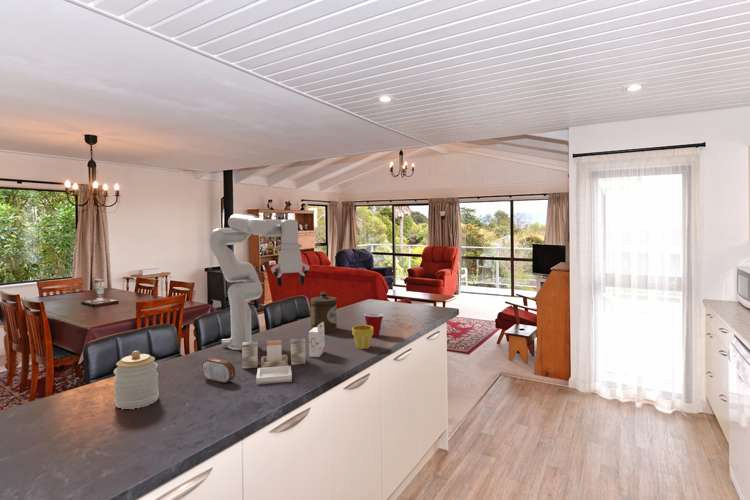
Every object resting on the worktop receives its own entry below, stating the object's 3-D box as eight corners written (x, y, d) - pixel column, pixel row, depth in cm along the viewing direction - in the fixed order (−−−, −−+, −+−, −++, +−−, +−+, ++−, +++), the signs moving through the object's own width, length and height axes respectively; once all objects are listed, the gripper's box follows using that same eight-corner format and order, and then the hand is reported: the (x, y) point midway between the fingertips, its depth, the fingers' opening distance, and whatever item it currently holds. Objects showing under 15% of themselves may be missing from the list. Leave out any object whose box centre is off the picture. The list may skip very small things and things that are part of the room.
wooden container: (335, 333, 229) (334, 293, 228) (308, 333, 229) (308, 293, 228) (337, 326, 244) (337, 289, 243) (312, 326, 244) (312, 289, 243)
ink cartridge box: (314, 351, 197) (314, 320, 196) (324, 351, 196) (324, 321, 195) (308, 356, 188) (308, 324, 187) (318, 357, 187) (318, 325, 186)
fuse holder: (242, 370, 171) (241, 346, 170) (243, 363, 179) (243, 340, 179) (305, 365, 177) (305, 342, 176) (304, 358, 185) (304, 336, 185)
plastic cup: (387, 334, 226) (387, 313, 225) (377, 339, 216) (377, 316, 216) (370, 332, 231) (370, 310, 231) (359, 336, 222) (359, 314, 222)
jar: (127, 414, 131) (125, 359, 130) (107, 404, 138) (105, 352, 137) (167, 399, 142) (165, 348, 141) (146, 391, 149) (144, 343, 148)
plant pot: (364, 351, 196) (364, 331, 195) (347, 347, 202) (347, 327, 202) (377, 346, 204) (377, 326, 204) (361, 342, 210) (361, 323, 210)
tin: (236, 382, 158) (235, 360, 157) (230, 385, 155) (229, 363, 154) (207, 376, 164) (206, 355, 164) (200, 379, 161) (200, 358, 161)
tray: (256, 384, 156) (256, 378, 155) (257, 374, 166) (257, 368, 166) (291, 381, 159) (291, 375, 158) (290, 371, 169) (290, 365, 169)
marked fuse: (267, 366, 175) (266, 343, 175) (267, 363, 179) (267, 340, 179) (281, 365, 177) (281, 342, 176) (281, 362, 181) (281, 339, 180)
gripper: (306, 246, 191) (307, 283, 192) (268, 247, 184) (269, 286, 185) (311, 247, 185) (312, 285, 186) (271, 248, 177) (273, 288, 178)
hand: (290, 285), depth 185 cm, fingers open, 9 cm apart
